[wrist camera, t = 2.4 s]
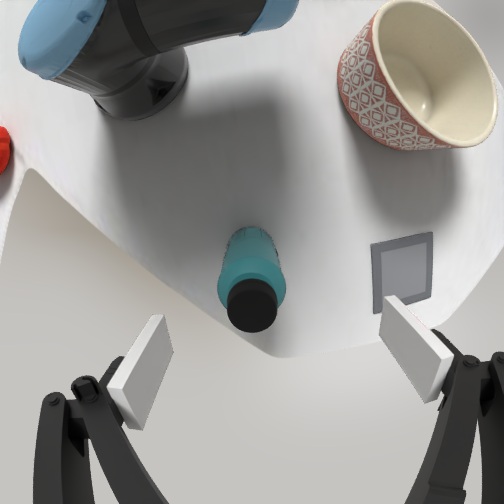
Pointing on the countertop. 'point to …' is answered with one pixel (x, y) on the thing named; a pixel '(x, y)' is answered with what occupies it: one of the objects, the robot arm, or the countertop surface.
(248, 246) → the beverage bottle
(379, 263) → the slate mat
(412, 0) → the planter
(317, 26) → the countertop surface
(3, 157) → the tomato
